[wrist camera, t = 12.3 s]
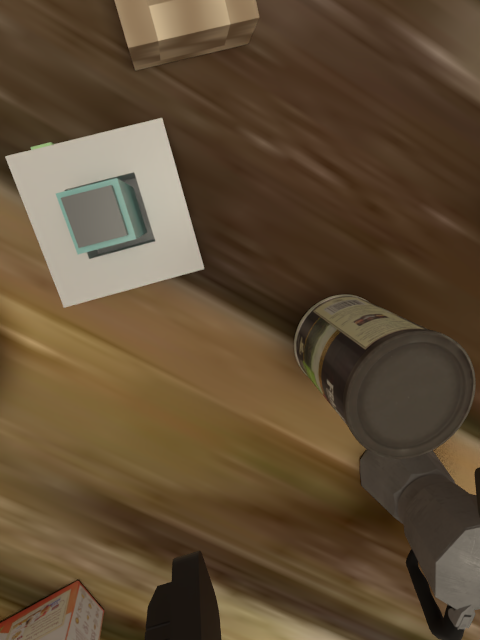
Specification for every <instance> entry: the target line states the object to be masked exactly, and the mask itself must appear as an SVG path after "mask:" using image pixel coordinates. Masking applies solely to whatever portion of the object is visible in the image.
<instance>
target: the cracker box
mask: <svg viewBox="0 0 480 640" xmlns="http://www.w3.org/2000/svg"><path fill="white" fill-rule="evenodd" d="M103 614H104V610H103V609H102V608H101V606H100V605H99V604H98V603H97V602H96V601H95V599H94V598H93V597H92V596H91V595H90V593H89V592H88V591H87V590H86V589H85V588H84V586H83V585H82V584H81V583H80V582H79V581H76V582H74V583H72V584H71V585H69V586H67V587H65V588H63V589H61V590H60V591H58V592H56V593H54V594H52V595H50V596H49V597H47V598H45V599H43V600H41V601H39V602H38V603H36V604H34V605H32V606H30V607H29V608H27V609H25V610H23V611H21V612H19V613H18V614H16V615H14V616H12V617H10V618H8V619H7V620H5V621H3V622H1V623H0V640H99V639H100V633H101V627H102V621H103Z"/></svg>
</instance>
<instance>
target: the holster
mask: <svg viewBox="0 0 480 640" xmlns="http://www.w3.org/2000/svg"><path fill="white" fill-rule="evenodd" d="M115 4H116V7H117V11H118V14H119V18H120V21H121V24H122V28H123V31H124V35H125V38H126V42H127V45H128V49H129V52H130V55H131V59H132V62H133V65H134V69H135V71H136V70H140V69H145V68H149V67H153V66H157V65H161V64H166V63H170V62H174V61H178V60H183V59H187V58H191V57H195V56H199V55H204V54H208V53H212V52H216V51H221V50H225V49H229V48H233V47H238V46H242V45H246V44H249V41H250V39H251V36H252V34H253V32H254V29H255V27H256V24H257V22H258V20H259V13H258V9H257V4H256V0H115Z"/></svg>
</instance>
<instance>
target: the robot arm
mask: <svg viewBox="0 0 480 640" xmlns="http://www.w3.org/2000/svg"><path fill="white" fill-rule="evenodd" d="M475 484H476V494H477V505H478V513H479V517H480V468H477V469H476V470H475ZM145 640H221V629H220V618H219V610H218V605H217V600H216V596H215V592H214V589H213V586H212V583H211V580H210V577H209V574H208V571H207V568H206V565H205V562H204V559H203V556H202V553H201V551H197V552H193V553H190V554H187V555H183V556H180V557H177V558H174V559H173V564H172V582H170V583H166V584H163V585H160V586H157V588H156V590H155V593H154V595H153V597H152V599H151V601H150V603H149V606H148V611H147V621H146V632H145Z"/></svg>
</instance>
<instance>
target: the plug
mask: <svg viewBox="0 0 480 640" xmlns="http://www.w3.org/2000/svg"><path fill="white" fill-rule="evenodd" d="M56 196H57V199H58V202H59V205H60V207H61V210H62V213H63V216H64V218H65V221H66V224H67V227H68V229H69V232H70V235H71V238H72V240H73V243H74V246H75V249H76V251H77V254H82V253H86V252H89V251H93V250H97V249H101V248H104V247H108V246H112V245H116V244H120V243H123V242H127V241H131V240H135V239H137V238H139V237H141V236H142V235H144V234H145V233H147V230H146V227H145V224H144V220H143V217H142V214H141V211H140V207H139V204H138V201H137V198H136V195H135V191H134V188H133V187H132V186H130V185H128V184H127V183H125V182H123V181H121V180H120V179H118V178H115V179H111V180H107V181H103V182H99V183H95V184H91V185H87V186H83V187H79V188H75V189H71V190H68V191H64V192H60V193H56Z"/></svg>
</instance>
